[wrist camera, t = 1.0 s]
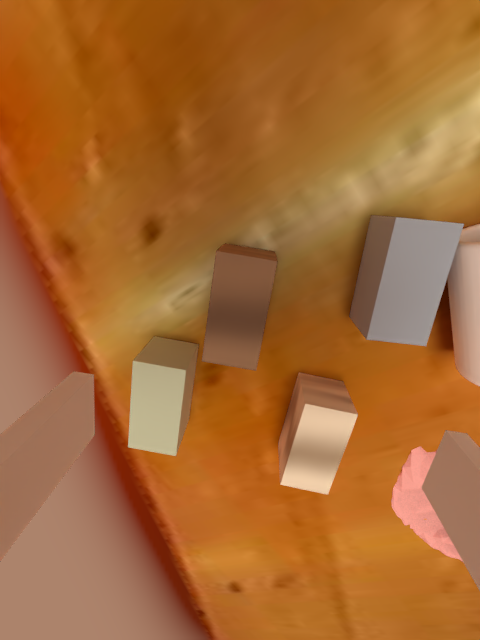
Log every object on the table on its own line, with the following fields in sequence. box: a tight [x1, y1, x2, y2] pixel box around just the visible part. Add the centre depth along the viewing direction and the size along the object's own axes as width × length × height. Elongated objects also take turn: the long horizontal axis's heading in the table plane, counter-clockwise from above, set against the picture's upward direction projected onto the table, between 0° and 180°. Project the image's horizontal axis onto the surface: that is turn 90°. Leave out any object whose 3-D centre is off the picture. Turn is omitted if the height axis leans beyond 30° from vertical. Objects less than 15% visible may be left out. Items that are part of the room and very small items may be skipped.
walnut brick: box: [202, 243, 278, 371], centre depth 24 cm, size 8×4×5 cm, turn 171°
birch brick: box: [278, 372, 358, 494], centre depth 28 cm, size 8×4×5 cm, turn 169°
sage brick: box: [128, 336, 199, 456], centre depth 28 cm, size 8×4×5 cm, turn 171°
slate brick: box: [349, 215, 464, 346], centre depth 23 cm, size 8×4×5 cm, turn 175°
